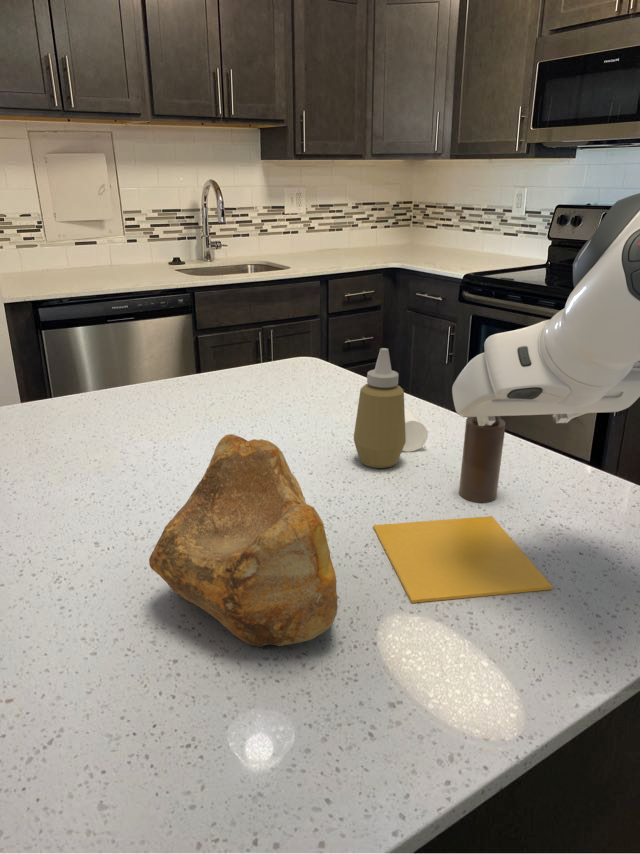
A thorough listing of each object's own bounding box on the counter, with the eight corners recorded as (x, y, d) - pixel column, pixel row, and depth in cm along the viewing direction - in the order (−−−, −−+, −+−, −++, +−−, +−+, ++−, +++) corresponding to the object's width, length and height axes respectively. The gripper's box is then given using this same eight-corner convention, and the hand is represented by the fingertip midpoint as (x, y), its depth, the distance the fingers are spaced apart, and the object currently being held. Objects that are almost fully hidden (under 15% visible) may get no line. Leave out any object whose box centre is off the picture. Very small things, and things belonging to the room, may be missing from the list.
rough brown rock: (145, 559, 78) (123, 445, 72) (280, 525, 83) (270, 416, 77) (180, 703, 58) (153, 562, 52) (354, 647, 63) (349, 512, 57)
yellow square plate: (491, 518, 87) (491, 515, 87) (552, 589, 72) (552, 586, 72) (373, 527, 84) (373, 525, 84) (411, 603, 69) (411, 600, 69)
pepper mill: (487, 485, 96) (498, 392, 91) (502, 501, 92) (515, 404, 86) (453, 487, 95) (462, 393, 90) (467, 504, 91) (477, 406, 86)
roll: (405, 424, 119) (407, 395, 117) (427, 450, 108) (429, 418, 106) (372, 426, 118) (374, 396, 116) (391, 452, 107) (393, 420, 105)
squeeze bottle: (360, 474, 99) (365, 357, 93) (346, 453, 106) (350, 343, 100) (411, 470, 101) (419, 355, 94) (395, 449, 108) (401, 341, 102)
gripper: (660, 332, 69) (595, 392, 81) (472, 335, 66) (435, 397, 79) (679, 386, 66) (609, 440, 79) (484, 391, 64) (443, 446, 76)
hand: (521, 419), depth 79 cm, fingers open, 8 cm apart
